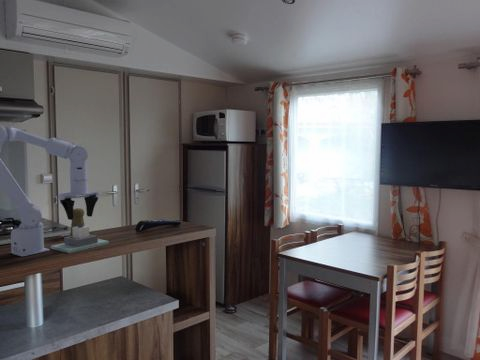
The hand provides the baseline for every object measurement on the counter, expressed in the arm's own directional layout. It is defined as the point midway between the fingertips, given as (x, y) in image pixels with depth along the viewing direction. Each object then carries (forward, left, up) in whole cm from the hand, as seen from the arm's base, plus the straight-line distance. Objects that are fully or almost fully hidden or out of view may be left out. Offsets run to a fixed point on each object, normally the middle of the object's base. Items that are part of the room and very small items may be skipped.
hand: (80, 217), depth 144 cm
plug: (0, 0, -9) cm, 9 cm away
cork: (+10, +17, -11) cm, 22 cm away
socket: (0, 0, -10) cm, 10 cm away
